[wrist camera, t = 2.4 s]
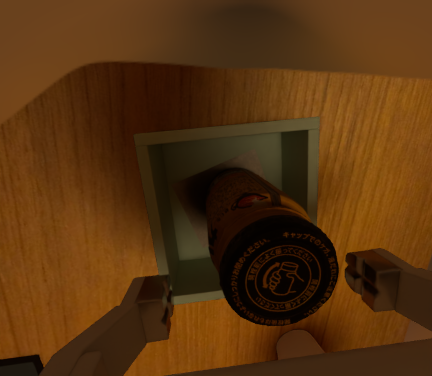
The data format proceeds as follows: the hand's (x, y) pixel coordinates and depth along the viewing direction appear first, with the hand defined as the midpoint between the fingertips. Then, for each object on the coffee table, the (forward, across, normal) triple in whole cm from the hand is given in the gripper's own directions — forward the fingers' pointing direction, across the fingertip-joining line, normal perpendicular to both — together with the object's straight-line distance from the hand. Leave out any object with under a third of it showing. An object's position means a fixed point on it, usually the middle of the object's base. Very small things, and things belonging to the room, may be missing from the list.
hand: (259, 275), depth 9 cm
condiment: (+11, 0, 0) cm, 11 cm away
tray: (+12, 0, 0) cm, 12 cm away
